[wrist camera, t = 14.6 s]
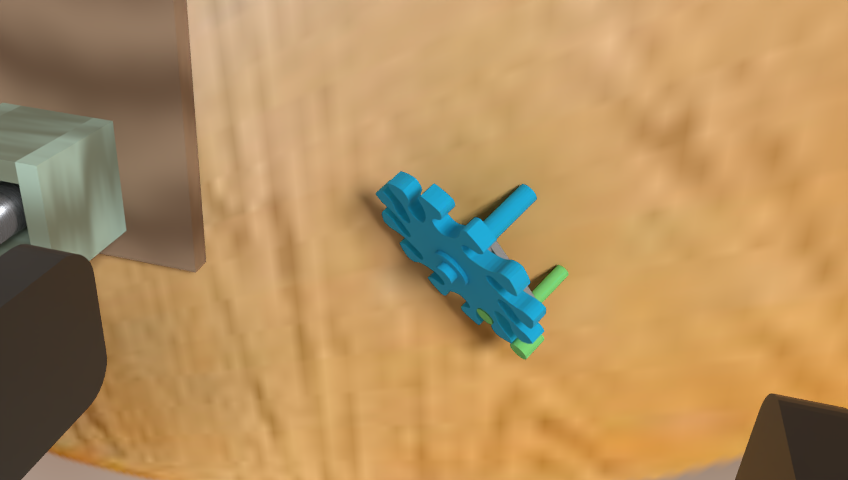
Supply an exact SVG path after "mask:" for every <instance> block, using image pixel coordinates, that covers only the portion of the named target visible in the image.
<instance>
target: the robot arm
mask: <svg viewBox="0 0 848 480" xmlns="http://www.w3.org/2000/svg"><path fill="white" fill-rule="evenodd" d="M106 366H107V355H106V348H105V341H104V335H103V328H102V322H101V316H100V309H99V303H98V296H97V290H96V283H95V277H94V272H93V268H92V266H91V263H90V262H89V260H88V259H87V258H86V257H84V256H82V255H80V254H75V253H70V252H64V251H59V250H54V249H49V248H44V247H39V246H34V245H29V244H20V245H17V246H15V247H13V248H11V249H10V250H8V251H7V252H6V253H4V254H3V255H1V256H0V480H21V479H22V478H23V477H24V476H25V475H26V474H27V473H28V471H30V469H31V468H32V467H33V466H34V465H35V464H36V463H37V462H38V461H39V460H40V459H41V458H42V456H44V454H45V453H46V452H47V451H48V450H49V449H50V448H51V447H52V446H53V445H54V444H55V443H56V442H57V440H58V439H59V438H60V437H61V436H62V435H63V434H64V433H65V432H66V431H67V430H68V429H69V428H70V427H71V425H72V424H73V423H74V422H75V421H76V420H77V419H78V418H79V417H80V416H81V415H82V414H83V413H84V411H85V410H86V409H87V408H88V407H89V406H90V405H91V404H92V402H93V401H94V399H95V398H96V396H97V394H98V392H99V391H100V388H101V386H102V383H103V380H104V377H105V372H106ZM735 480H848V409H846V408H843V407H838V406H833V405H828V404H823V403H818V402H813V401H808V400H803V399H797V398H792V397H787V396H782V395H777V394H772V393H771V394H769V395H768V396H767V397H766V398H765V400H764V401H763V403H762V405H761V408H760V410H759V413H758V416H757V419H756V422H755V425H754V427H753V430H752V433H751V436H750V439H749V442H748V444H747V447H746V450H745V453H744V456H743V459H742V461H741V464H740V467H739V470H738V473H737V476H736V479H735Z"/></svg>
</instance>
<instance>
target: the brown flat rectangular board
mask: <svg viewBox="0 0 848 480" xmlns="http://www.w3.org/2000/svg"><path fill="white" fill-rule="evenodd" d="M1 103H8V104H14V105H20V106H26V107H32V108H38V109H44V110H50V111H56V112H62V113H68V114H74V115H80V116H86V117H92V118H98V119H104V120H110V121H113V127H114V135H115V143H116V151H117V159H118V167H119V175H120V183H121V191H122V199H123V207H124V215H125V223H126V232H124V233H123V234H122V235H121V236H119V237H118V238H117V239H116V240H114V241H113V242H112V243H111V244H110V245H108V246H107V247H106V248H105V249H103V250H102V251H101V252H100V254H105V255H110V256H115V257H120V258H126V259H131V260H136V261H141V262H146V263H151V264H156V265H161V266H166V267H171V268H176V269H182V270H187V271H192V272H197V271H198V270H199V268H200V267H201V266H202V265H203V264H204V263H205V262H206V255H205V242H204V229H203V215H202V202H201V189H200V175H199V162H198V149H197V136H196V122H195V109H194V96H193V83H192V69H191V56H190V43H189V29H188V16H187V3H186V0H0V104H1Z"/></svg>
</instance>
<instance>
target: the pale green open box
mask: <svg viewBox="0 0 848 480" xmlns="http://www.w3.org/2000/svg"><path fill="white" fill-rule="evenodd" d="M2 181H5V182H10V183H16V184H19V186H20V192H21V197H22V202H23V207H24V212H25V218H26V223H27V227H25V228H24V229H22V230H21V231H19V232H18V233H16V234H15V235H13V236H12V237H10V238H9V239H7V240H6V241H4V242H3V243H2V244H0V256H1V255H3V254H4V253H6V252H7V251H8V250H10V249H11V248H13V247H15V246H17V245H20V244H29V245H34V246H39V247H44V248H49V249H54V250H59V251H64V252H70V253H75V254H80V255H82V256H84V257H86V258H87V259H88V260H89V261H90V260H91V259H92V258H94V257H95V256H96V255H97V254H99V253H100V252H101V251H102V250H103V249H105V248H106V247H107V246H108V245H110V244H111V243H112V242H113V241H114V240H116V239H117V238H118V237H119V236H121V235H122V234H123V233H124V232H126V223H125V215H124V207H123V199H122V191H121V183H120V175H119V167H118V159H117V151H116V143H115V135H114V127H113V121H110V120H104V119H98V118H92V117H86V116H80V115H74V114H68V113H62V112H56V111H50V110H44V109H38V108H32V107H26V106H20V105H14V104H8V103H1V104H0V182H2Z"/></svg>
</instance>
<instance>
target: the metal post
mask: <svg viewBox="0 0 848 480" xmlns="http://www.w3.org/2000/svg"><path fill="white" fill-rule="evenodd" d="M25 227H27V223H26V218H25V212H24V207H23V202H22V197H21V192H20V186H19V184H16V183H10V182H5V181H2V182H0V244H2V243H3V242H4V241H6V240H7V239H9V238H10V237H12V236H13V235H15V234H16V233H18V232H19V231H21V230H22V229H24V228H25Z"/></svg>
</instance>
